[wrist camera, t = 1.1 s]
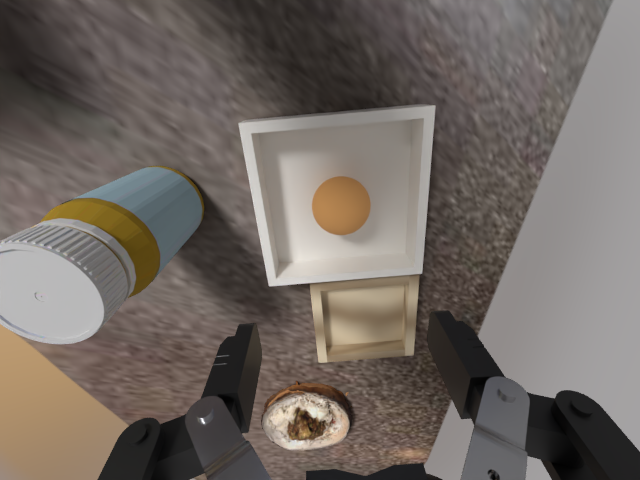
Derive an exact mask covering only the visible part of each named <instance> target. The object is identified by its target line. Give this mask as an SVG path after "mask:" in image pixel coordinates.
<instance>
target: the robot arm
mask: <svg viewBox="0 0 640 480" xmlns="http://www.w3.org/2000/svg"><path fill="white" fill-rule="evenodd" d="M427 342H428V347H429V350H430V352H431V355H432V357H433V359H434V361H435V363H436V365H437V368H438V370H439V372H440V374H441V376H442V378H443V381H444V383H445V385H446V387H447V389H448V391H449V394H450V396H451V398H452V400H453V402H454V404H455V407H456V409H457V411H458V413H459V415H460V417H461V419H467V418H468V419H469V418H471V419H472V421H473V423H474V429H473V433H472V437H471V441H470V445H469V449H468V453H467V457H466V460H465V464H464V468H463V472H462V476H461V480H525V478H526V467H527V456H530V457H534V458H537V459H541V461H542V462H543V465H544V466H545V468H546V470H547V472H548V473H549V475H550V477H551V479H552V480H640V452H639V450H638V449H637V448H636V447H635V446H634V445H633V443H632V442H631V441H630V440H629V439H628V438H627V436H626V435H625V434H624V433H623V432H622V431H621V429H620V428H619V427H618V426H617V425H616V424H615V422H614V421H613V420H612V419H611V418H610V417H609V415H608V414H607V413H606V412H605V411H604V410H603V408H602V407H601V406H600V405H599V404H597V403H596V402H595V401H594V400H592V399H591V398H589V397H588V396H585V395H584V394H581V393H579V392H575V391H570V390H564V391H561V392H559V393H558V394H557V395H556V398H555V399H554V398H549V397H544V396H539V395H534V394H531V393H528V392H526V391H525V390H524V389H523V387H521V386H520V385H519V384H518V383H516V382H515V381H513V380H511V379H508V378H506V377H505V376H504V375H503V373H502V372H501V370H500V369H499V367H498V366H497V364H496V363H495V362H494V360H493V358H492V357H491V355H490V354H489V353H488V351H487V350H486V348H484V345H483V344H482V342H481V341H480V340H479V338H478V336H477V335H476V334H475V332H474V331H473V329H472V328H470V327H469V326H468V325H467V324H465V323H464V322H463V321H457V322H456V320H455V319H454V317H453V316H452V314H451V313H450V311H448V310H447V311H432V312H431V313H430V318H429V326H428V334H427ZM261 360H262V349H261V343H260V338H259V333H258V329H257V325H256V323H250V324H239V326H238V328H237V332H236V335H235V336H231V337H227V338H226V339H225V340H224V341H223V343H222V344H221V345H220V347H219V350H218V352H217V355H216V358H215V361H214V365H213V366H212V369H211V372H210V375H209V378H208V380H207V383H206V386H205V389H204V392H203V394H202V397H201V399H200V400H198V401H197V402H195V403H194V404H193V405H192V406H191V407H190V409H189V410H188V412H187V414H185V415H183V416H181V417H179V418H176V419H173V420H171V421H168V422H165V423H163V424H160V423H159V422H158V421H157V420H156V419H154V418H144V419H141V420H138V421H136V422H134V423H133V424H131V425H130V426H129V427H128V428H126V429H125V430H124V431H123V432H122V434H121V435H120V436H119V438H118V440H117V442H116V444H115V446H114V448H113V450H112V452H111V454H110V456H109V458H108V460H107V462H106V464H105V466H104V468H103V470H102V472H101V474H100V476H99V478H98V480H190V479H192V478H194V477H196V476H199V475H201V474H203V473H205V475H206V477H207V480H271V478H270V476H269V474H268V473H267V471H266V469H265V468H264V466H263V464H262V462H261V461H260V459H259V457H258V455H257V454H256V452H255V450H254V449H253V447H252V445H251V444H250V442H249V441H246V440H245V438H244V437H243V435H242V433H248V432H249V426H250V421H251V415H252V410H253V404H254V399H255V394H256V388H257V383H258V377H259V372H260V366H261ZM306 480H442V479H440V478H438V477H435V476H433V475H430V474H426V472H425V468H424V465H423V463H420V464H405V465H394V466H391V467H388V468H386V469H383V470H381V471H378V472H376V473H373V474H371V475H368V476H362V475H358V474H354V473H349V472H345V471H340V470H336V469H331V470H316V471H306Z"/></svg>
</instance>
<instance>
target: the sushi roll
mask: <svg viewBox="0 0 640 480" xmlns="http://www.w3.org/2000/svg"><path fill="white" fill-rule="evenodd" d="M296 384H297V385H292V386H290V387H287V388H286V389H282V390H281V391H279V392H278V393H277V394H275V395H272V396H271V397H270V398H269V399H268V400H267V402H266V403H265V406H264V407H265V410H264V414H262V420H261V424H262V429H263V430H264V432H265V434H266V435H267V437H268V438H269V439H270V440H271V441H272V442H273V443H276V444H277V445H278V446H280V447H282V448H284V449H288V450H293V451H294V450H297V451H299V450H300V451H303V450H309V449H319V448H323V447H328V446H330V445H331V446H332V445H335V444H337V443H339V442H341V441H342V440H343V439H344V438H345V437H346V435H347V433H348V432H349V430H350V427H351V424H352V415H351V411H350V409H349V405H348V404H347V402H346V400H345V398H344V396H343V393H342V392H341V391H337V390H336V389H335V388H333V387H332V386H328V385H324V384H313V383H302V384H300V385H298V382H297V381H296ZM347 394H348V392H347V393H346V396H347ZM351 407H352V406H351Z"/></svg>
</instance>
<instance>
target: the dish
mask: <svg viewBox="0 0 640 480" xmlns="http://www.w3.org/2000/svg"><path fill="white" fill-rule="evenodd" d="M435 106H436V105H424V104H416V105H405V106H394V107H383V108H372V109H360V110H349V111H338V112H327V113H316V114H305V115H294V116H282V117H271V118H260V119H249V120H245V121H243V122H240V123H238V124H239V129H240V135H241V140H242V145H243V151H244V156H245V161H246V167H247V172H248V177H249V183H250V188H251V193H252V199H253V204H254V209H255V215H256V220H257V225H258V231H259V236H260V241H261V247H262V252H263V257H264V263H265V268H266V274H267V279H268V284H269V286H281V285H293V284H305V283H317V282H329V281H341V280H353V279H365V278H377V277H389V276H401V275H413V274H422V270H423V257H424V245H425V232H426V219H427V207H428V194H429V182H430V169H431V156H432V144H433V131H434V119H435ZM338 176H345V177H350V178H353V179H355V180H357V181H358V182H360V183H361V184H362V185H363V186H364V188H365V189H366V190H367V192H368V195H369V197H370V203H371V207H370V214H369V217H368V219H367V221H366V222H365V224H364V225H363V226H362V227H361V228H360V229H358V230H357V231H355V232H353V233H351V234H347V235H335V234H331V233H329V232H327V231H325V230H324V229H322V228H321V227H320V226H319V225H318V223H317V222H316V220H315V218H314V215H313V212H312V200H313V196H314V194H315V192H316V190H317V189H318V187H319V186H320V185H321V184H322V183H323V182H325V181H326V180H328V179H330V178H333V177H338Z"/></svg>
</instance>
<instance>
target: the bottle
mask: <svg viewBox="0 0 640 480" xmlns="http://www.w3.org/2000/svg"><path fill="white" fill-rule="evenodd" d="M203 216H204V203H203V198H202V196H201V194H200V192H199V190H198V188H197V187H196V185H195V184H194V183H193V182H192V181H191V180H190V179H189V178H188V177H187V176H185V175H184V174H182V173H180V172H179V171H177V170H175V169H172V168H168V167H164V166H150V167H146V168H143V169H141V170H138V171H136V172H133V173H131V174H129V175H127V176H124V177H122V178H120V179H117V180H115V181H113V182H111V183H108V184H106V185H104V186H101V187H99V188H97V189H94V190H92V191H90V192H88V193H85V194H83V195H81V196H78V197H76V198H74V199H72V200H69V201H67V202H65V203H62V204H61V205H59V206H57V207H55V208H53V209H52V210H51V211H50V212H49V213H48V214H47V215H46V216H45V217H44V218H43V219H42V220H41V222H40V223H39V224H36V225H34V226H33V227H31V228H28V229H25V230H23V231H21V232H19V233H17V234H14V235H12V236H10V237H8V238H6V239H4V240H2V241H0V324H1V325H3V326H4V327H6V328H7V329H9V330H11V331H13V332H15V333H17V334H19V335H21V336H23V337H26V338H29V339H32V340H35V341H39V342H44V343H50V344H70V343H76V342H79V341H82V340H85V339H87V338H89V337H90V336H92V335H93V334H94V333H97V332H98V330H100V329H101V328H102V327H103V326H104V324H105V323H106V322H107V321H108V320H109V319H110V318H111V317H112V316H113V314H114V313H115V312H116V311H117V310H118V309H119V308H120V306H121V305H122V304H123V302H124V301H125V300H126V299H127V298H129V297H131V296H133V295H136V294H138V293H139V292H141V291H142V290H143V289H145V288H146V287H147V286H148V285H149V284H150V283H151V282H152V281H153V280H154V279H155V277H156V276H157V275H158V274H159V273H160V272H161V270H162V269H163V268H164V267H165V266H166V265H167V263H168V262H169V261H170V260H171V259H172V258H173V256H174V255H175V254H176V253H177V252H178V251H179V249H180V248H181V247H182V246H183V245H184V244H185V242H186V241H187V240H188V239H189V238H190V236H191V235H192V234H193V233H194V232H195V231H196V229H197V228H198V227H199V225H200V223H201V221H202V219H203Z"/></svg>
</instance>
